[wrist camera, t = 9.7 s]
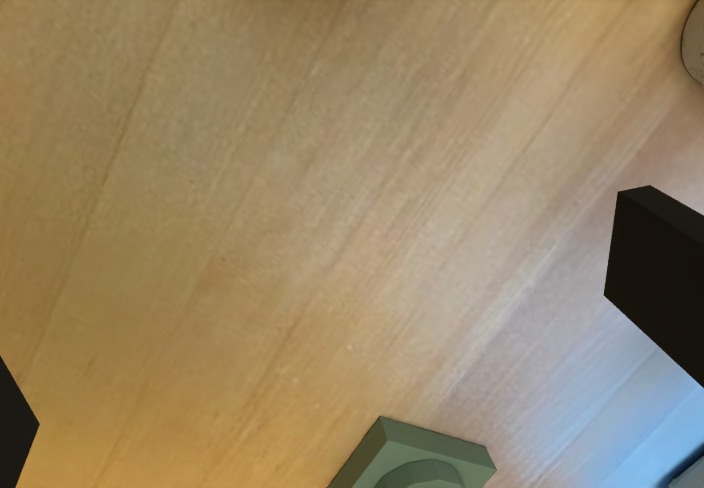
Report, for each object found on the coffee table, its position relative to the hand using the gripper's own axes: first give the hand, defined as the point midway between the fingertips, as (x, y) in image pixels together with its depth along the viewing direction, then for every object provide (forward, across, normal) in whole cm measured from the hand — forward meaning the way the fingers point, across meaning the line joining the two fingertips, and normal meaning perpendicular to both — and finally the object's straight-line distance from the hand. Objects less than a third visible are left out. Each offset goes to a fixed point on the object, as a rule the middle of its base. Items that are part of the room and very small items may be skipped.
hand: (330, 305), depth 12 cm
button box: (+18, +5, -29) cm, 35 cm away
